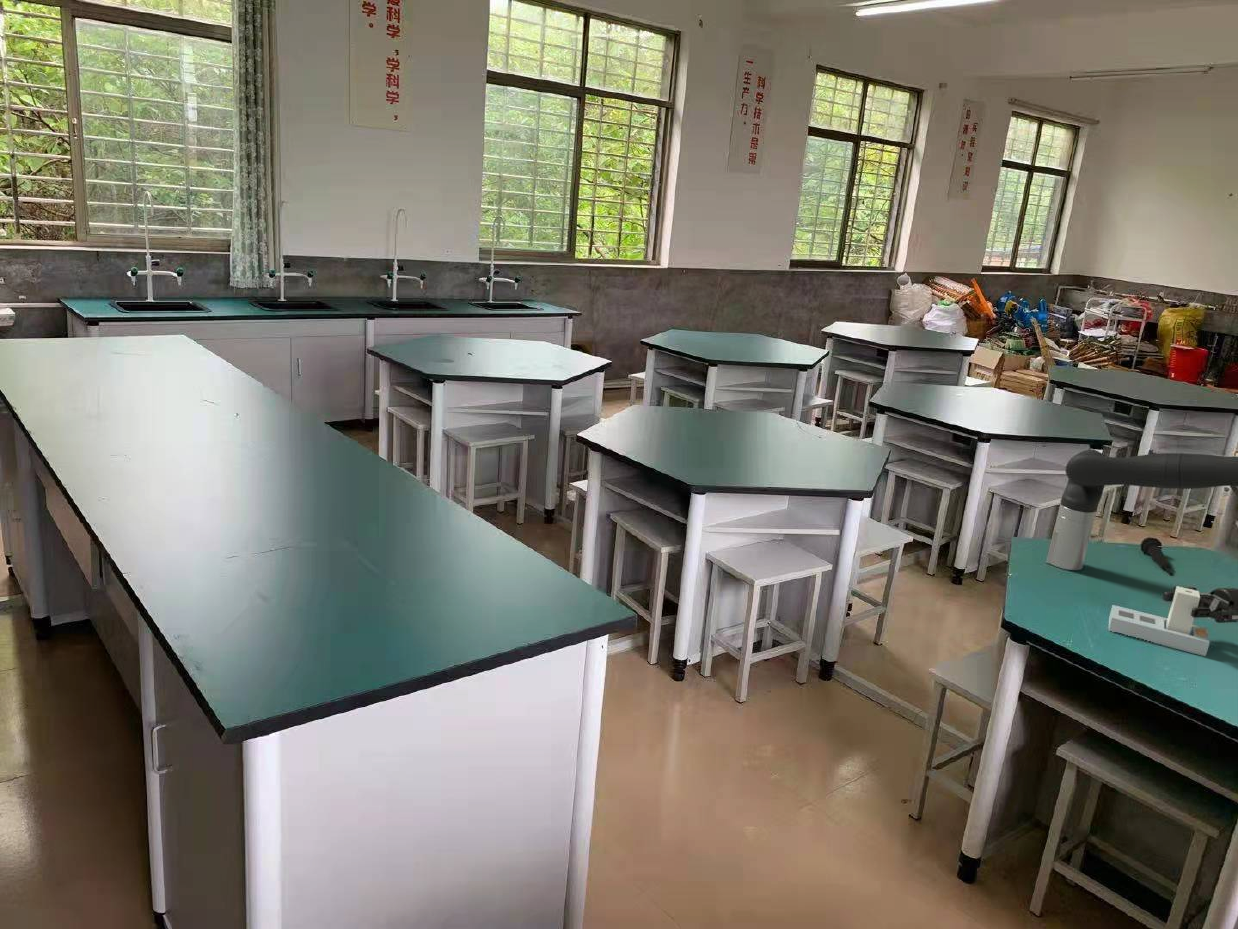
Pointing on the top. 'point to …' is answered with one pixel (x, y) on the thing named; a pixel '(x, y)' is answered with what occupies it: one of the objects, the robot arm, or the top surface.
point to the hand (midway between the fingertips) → (1178, 604)
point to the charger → (1182, 610)
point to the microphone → (1156, 553)
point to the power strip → (1157, 630)
